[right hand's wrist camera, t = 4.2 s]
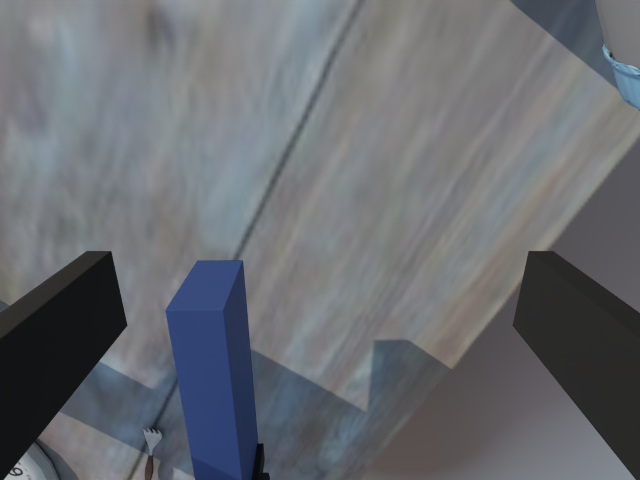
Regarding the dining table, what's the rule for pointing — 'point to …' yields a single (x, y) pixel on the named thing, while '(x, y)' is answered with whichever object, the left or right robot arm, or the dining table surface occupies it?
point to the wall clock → (33, 466)
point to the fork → (151, 450)
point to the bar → (215, 369)
